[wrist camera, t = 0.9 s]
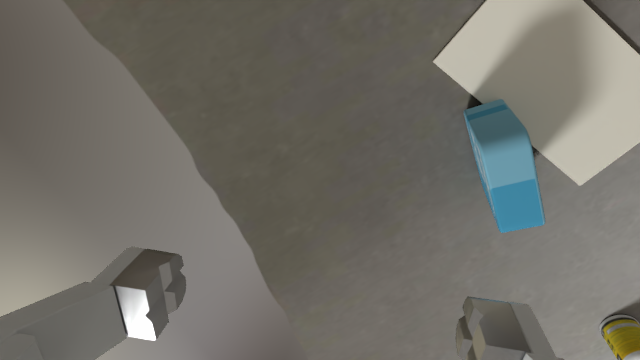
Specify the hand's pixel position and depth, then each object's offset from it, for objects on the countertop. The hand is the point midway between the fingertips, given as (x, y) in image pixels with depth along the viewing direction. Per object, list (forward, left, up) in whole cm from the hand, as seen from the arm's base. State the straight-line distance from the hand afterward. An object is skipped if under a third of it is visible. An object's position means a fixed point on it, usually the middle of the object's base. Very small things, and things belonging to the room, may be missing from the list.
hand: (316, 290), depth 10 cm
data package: (-2, +19, -40) cm, 44 cm away
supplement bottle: (+7, +57, -40) cm, 70 cm away
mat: (-12, +19, -40) cm, 46 cm away
